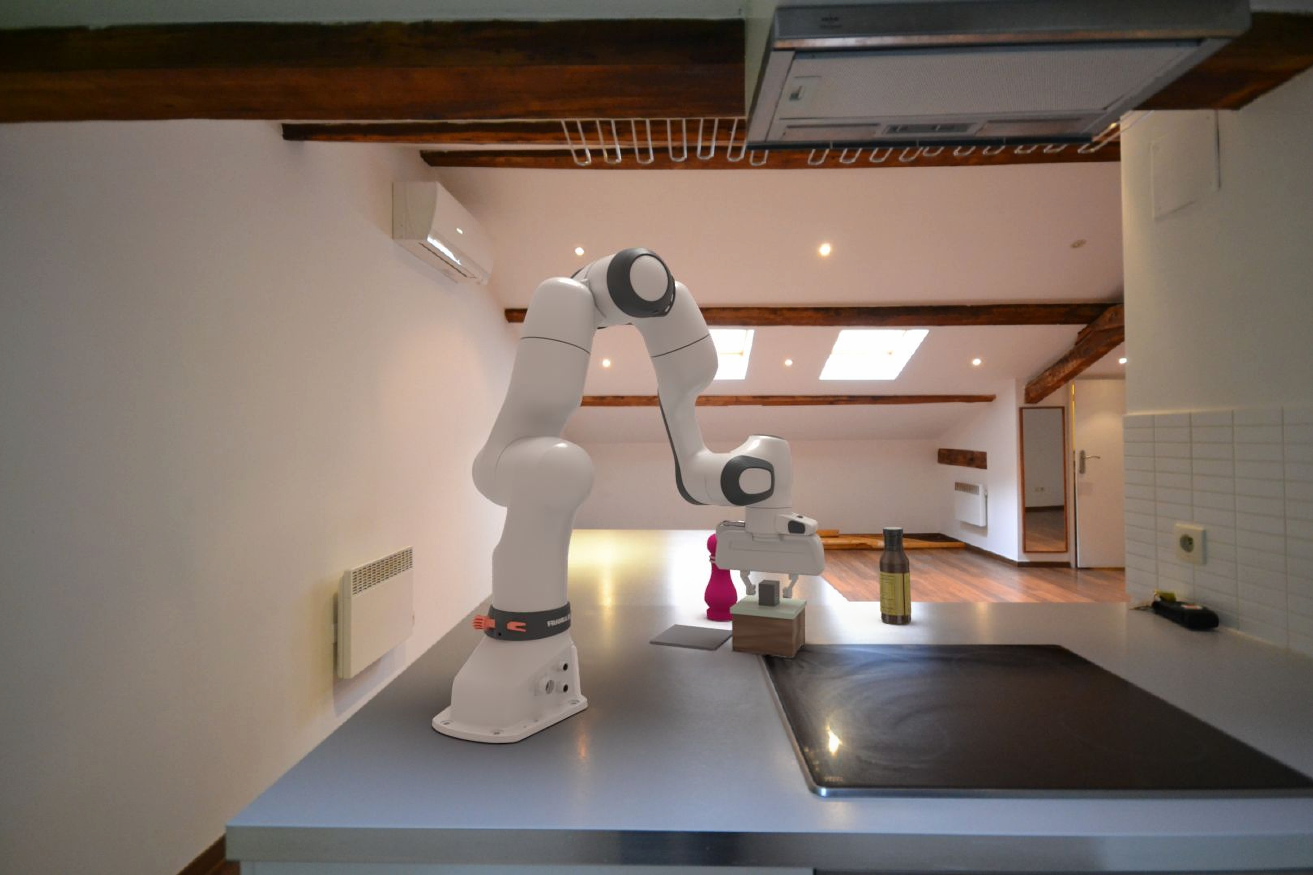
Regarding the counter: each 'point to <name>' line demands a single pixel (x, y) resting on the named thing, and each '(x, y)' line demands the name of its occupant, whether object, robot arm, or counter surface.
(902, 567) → the sauce bottle
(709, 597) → the pepper mill
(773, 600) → the lid
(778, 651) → the box
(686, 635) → the mat
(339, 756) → the counter surface
